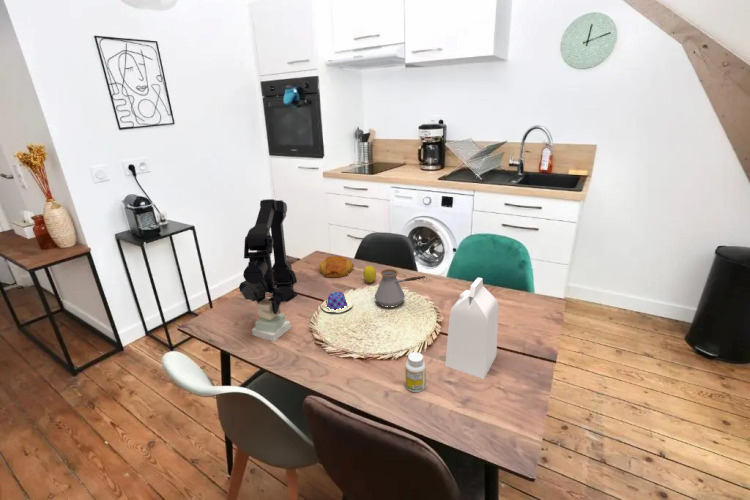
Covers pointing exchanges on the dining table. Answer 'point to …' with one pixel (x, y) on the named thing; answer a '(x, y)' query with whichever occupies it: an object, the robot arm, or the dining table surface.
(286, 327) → the base block
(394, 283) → the coffee pot
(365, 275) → the lemon
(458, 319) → the milk
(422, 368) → the supplement bottle
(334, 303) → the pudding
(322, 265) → the croissant
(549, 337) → the dining table surface
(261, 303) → the birch cube
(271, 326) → the sage green block
